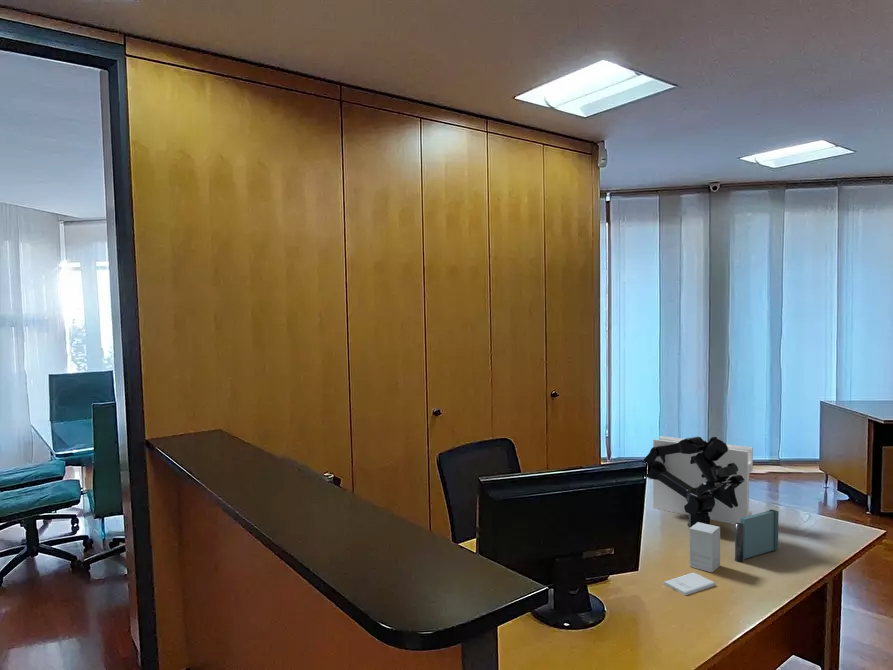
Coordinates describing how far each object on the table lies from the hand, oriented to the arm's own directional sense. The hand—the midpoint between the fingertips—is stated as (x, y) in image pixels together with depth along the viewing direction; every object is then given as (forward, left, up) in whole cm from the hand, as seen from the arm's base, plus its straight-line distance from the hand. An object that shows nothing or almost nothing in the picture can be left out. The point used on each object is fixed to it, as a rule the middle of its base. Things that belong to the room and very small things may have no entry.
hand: (734, 507), depth 219 cm
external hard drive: (-23, -34, -13) cm, 43 cm away
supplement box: (-15, -20, -13) cm, 28 cm away
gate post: (-3, -15, -13) cm, 20 cm away
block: (-4, +29, -13) cm, 32 cm away
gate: (+5, -9, -12) cm, 16 cm away
